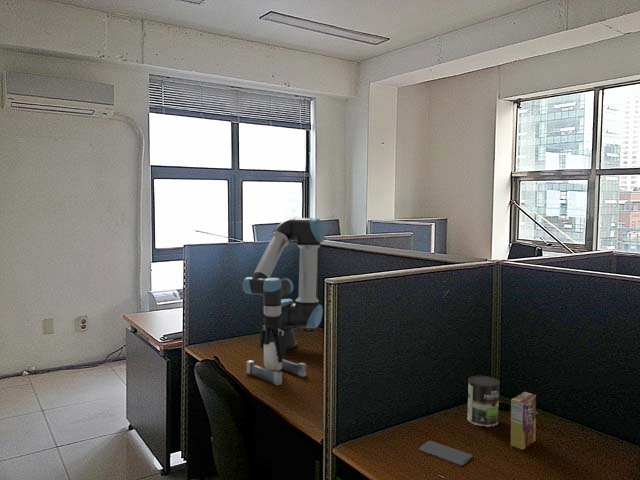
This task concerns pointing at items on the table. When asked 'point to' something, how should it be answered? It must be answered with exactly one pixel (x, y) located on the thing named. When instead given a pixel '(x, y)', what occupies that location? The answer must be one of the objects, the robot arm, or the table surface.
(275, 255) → the robot arm
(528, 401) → the candy box
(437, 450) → the smartphone
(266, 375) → the channel guide
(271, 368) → the white cup
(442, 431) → the table surface
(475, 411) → the coffee can
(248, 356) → the table surface
